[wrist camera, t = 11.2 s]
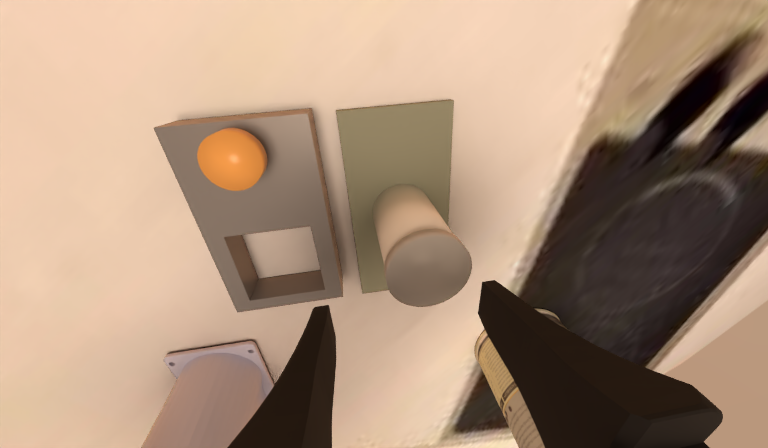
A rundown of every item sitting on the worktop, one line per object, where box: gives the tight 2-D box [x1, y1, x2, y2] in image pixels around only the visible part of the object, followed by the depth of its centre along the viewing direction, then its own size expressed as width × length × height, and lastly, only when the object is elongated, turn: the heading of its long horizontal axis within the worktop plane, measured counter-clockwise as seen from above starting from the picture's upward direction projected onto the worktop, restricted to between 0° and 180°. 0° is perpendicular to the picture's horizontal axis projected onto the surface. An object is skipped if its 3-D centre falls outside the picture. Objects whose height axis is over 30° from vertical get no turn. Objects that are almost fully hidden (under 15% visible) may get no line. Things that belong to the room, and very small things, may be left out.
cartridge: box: [373, 184, 472, 307], centre depth 18 cm, size 5×5×8 cm
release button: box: [197, 128, 267, 191], centre depth 16 cm, size 3×3×4 cm
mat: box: [336, 100, 454, 294], centre depth 21 cm, size 15×8×1 cm, turn 4°
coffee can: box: [475, 308, 568, 448], centre depth 26 cm, size 10×10×14 cm
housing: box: [154, 108, 343, 312], centre depth 19 cm, size 14×8×2 cm, turn 4°
